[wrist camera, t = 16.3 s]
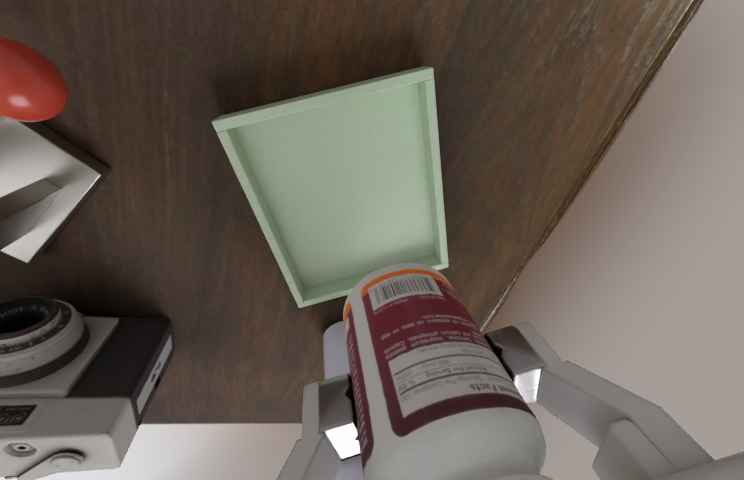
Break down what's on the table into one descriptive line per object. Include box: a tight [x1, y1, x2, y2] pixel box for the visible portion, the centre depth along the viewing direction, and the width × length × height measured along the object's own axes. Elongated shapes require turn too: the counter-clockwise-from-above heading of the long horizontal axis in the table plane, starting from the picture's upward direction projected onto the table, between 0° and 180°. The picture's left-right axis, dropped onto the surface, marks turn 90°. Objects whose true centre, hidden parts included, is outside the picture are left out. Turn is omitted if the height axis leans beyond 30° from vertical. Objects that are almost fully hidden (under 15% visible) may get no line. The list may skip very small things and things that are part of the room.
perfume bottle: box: [323, 321, 364, 480], centre depth 22 cm, size 6×6×20 cm
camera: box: [0, 295, 174, 480], centre depth 20 cm, size 14×8×10 cm, turn 76°
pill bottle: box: [343, 263, 552, 480], centre depth 9 cm, size 5×5×8 cm
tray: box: [212, 67, 448, 308], centre depth 22 cm, size 15×13×2 cm
